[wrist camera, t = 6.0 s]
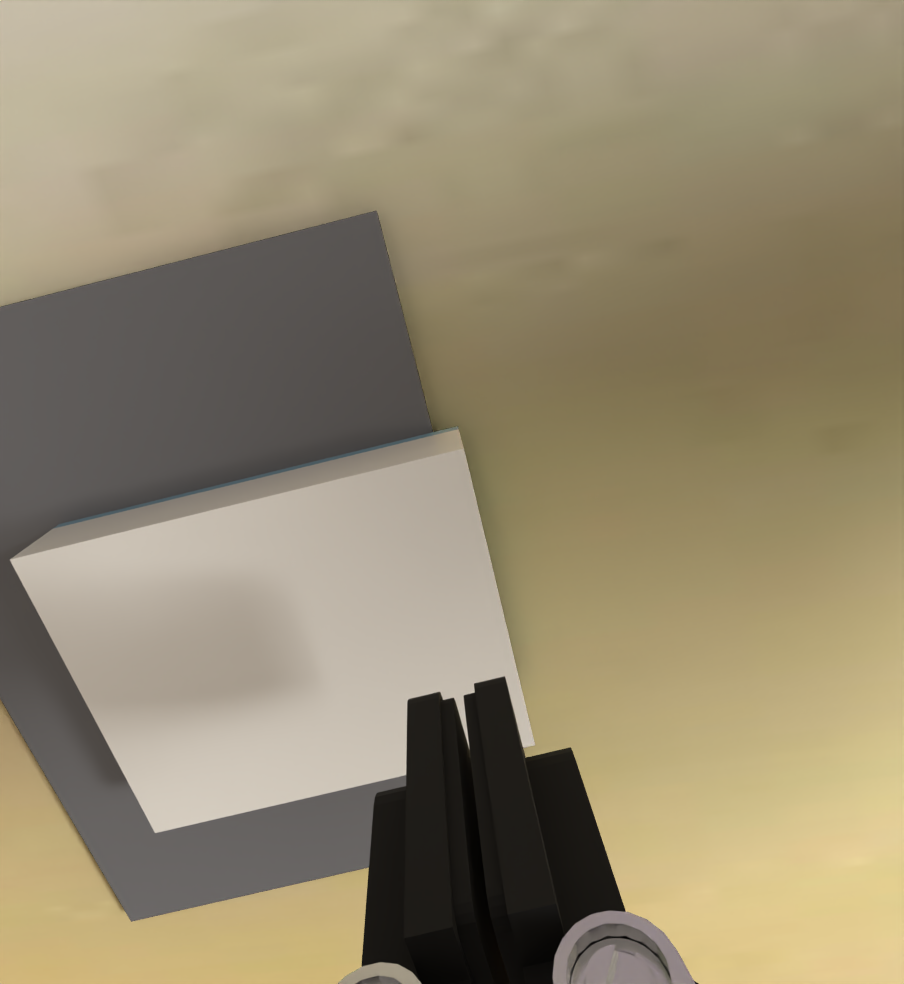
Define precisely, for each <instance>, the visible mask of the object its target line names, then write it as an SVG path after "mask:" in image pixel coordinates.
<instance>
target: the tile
mask: <svg viewBox="0 0 904 984" xmlns="http://www.w3.org/2000/svg"><path fill="white" fill-rule="evenodd" d="M10 561H11V563H12V565H13V567H14V569H15V571H16V573H17V574H18V576H19V578H20V580H21V582H22V584H23V586H24V588H25V590H26V591H27V593H28V595H29V597H30V599H31V601H32V603H33V605H34V606H35V608H36V610H37V612H38V614H39V616H40V618H41V620H42V621H43V623H44V625H45V627H46V629H47V631H48V633H49V635H50V637H51V638H52V640H53V642H54V644H55V646H56V648H57V650H58V652H59V653H60V655H61V657H62V659H63V661H64V663H65V665H66V667H67V668H68V670H69V672H70V674H71V676H72V678H73V680H74V682H75V683H76V685H77V687H78V689H79V691H80V693H81V695H82V697H83V699H84V700H85V702H86V704H87V706H88V708H89V710H90V712H91V714H92V715H93V717H94V719H95V721H96V723H97V725H98V727H99V729H100V730H101V732H102V734H103V736H104V738H105V740H106V742H107V744H108V746H109V747H110V749H111V751H112V753H113V755H114V757H115V759H116V761H117V762H118V764H119V766H120V768H121V770H122V772H123V774H124V776H125V777H126V779H127V781H128V783H129V785H130V787H131V789H132V791H133V792H134V794H135V796H136V798H137V800H138V802H139V804H140V806H141V808H142V809H143V811H144V813H145V815H146V817H147V819H148V821H149V823H150V824H151V826H152V828H153V830H154V832H155V833H158V832H162V831H167V830H171V829H175V828H180V827H184V826H188V825H193V824H197V823H201V822H206V821H210V820H214V819H219V818H223V817H227V816H232V815H236V814H240V813H244V812H249V811H253V810H257V809H262V808H266V807H270V806H275V805H279V804H283V803H288V802H292V801H296V800H301V799H305V798H309V797H314V796H318V795H322V794H327V793H331V792H335V791H340V790H344V789H348V788H352V787H357V786H361V785H365V784H370V783H374V782H378V781H383V780H387V779H391V778H396V777H400V776H404V775H406V755H407V701H408V699H411V698H415V697H419V696H423V695H428V694H432V693H436V692H440V693H441V695H442V698H443V700H445V699H450V698H454V699H455V702H456V705H457V708H458V712H459V715H460V719H461V722H462V726H463V729H464V733H465V736H466V740H467V743H468V746H469V740H468V732H467V723H466V715H465V706H464V697H463V696H464V695H467V694H471V693H475V690H474V683H478V682H482V681H487V680H491V679H495V678H499V677H503V676H505V678H506V682H507V686H508V690H509V694H510V698H511V702H512V706H513V710H514V714H515V718H516V722H517V726H518V730H519V734H520V738H521V742H522V746H523V748H525V747H530V746H534V745H535V742H534V738H533V734H532V730H531V726H530V722H529V717H528V713H527V709H526V705H525V701H524V697H523V692H522V688H521V684H520V680H519V676H518V672H517V667H516V663H515V659H514V655H513V651H512V647H511V642H510V638H509V634H508V630H507V626H506V622H505V617H504V613H503V609H502V605H501V601H500V597H499V592H498V588H497V584H496V580H495V576H494V571H493V567H492V563H491V559H490V555H489V551H488V546H487V542H486V538H485V534H484V530H483V526H482V521H481V517H480V513H479V509H478V505H477V501H476V496H475V492H474V488H473V484H472V480H471V476H470V471H469V467H468V463H467V459H466V455H465V451H464V447H463V443H462V439H461V436H460V432H459V428H458V426H456V427H452V428H448V429H444V430H440V431H436V432H432V433H428V434H424V435H420V436H416V437H412V438H407V439H403V440H399V441H395V442H391V443H387V444H383V445H379V446H375V447H371V448H367V449H363V450H359V451H355V452H351V453H346V454H342V455H338V456H334V457H330V458H326V459H322V460H318V461H314V462H310V463H306V464H302V465H298V466H294V467H290V468H285V469H281V470H277V471H273V472H269V473H265V474H261V475H257V476H253V477H249V478H245V479H241V480H237V481H233V482H228V483H224V484H220V485H216V486H212V487H208V488H204V489H200V490H196V491H192V492H188V493H184V494H180V495H176V496H172V497H167V498H163V499H159V500H155V501H151V502H147V503H143V504H139V505H135V506H131V507H127V508H123V509H119V510H115V511H111V512H106V513H102V514H98V515H94V516H90V517H86V518H82V519H78V520H74V521H70V522H66V523H62V524H59V525H57V526H56V527H54V528H53V529H52V530H50V531H49V532H48V533H46V534H45V535H43V536H42V537H41V538H39V539H38V540H36V541H35V542H34V543H32V544H31V545H29V546H28V547H27V548H25V549H24V550H22V551H21V552H20V553H18V554H17V555H15V556H14V557H13V558H11V559H10ZM469 750H470V749H469Z"/></svg>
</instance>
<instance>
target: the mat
mask: <svg viewBox="0 0 904 984" xmlns="http://www.w3.org/2000/svg"><path fill="white" fill-rule="evenodd" d="M432 432H433V429H432V425H431V422H430V418H429V414H428V410H427V406H426V402H425V398H424V394H423V390H422V386H421V382H420V378H419V375H418V371H417V367H416V363H415V359H414V355H413V351H412V347H411V343H410V339H409V335H408V331H407V327H406V324H405V320H404V316H403V312H402V308H401V304H400V300H399V296H398V292H397V288H396V284H395V280H394V277H393V273H392V269H391V265H390V261H389V257H388V253H387V249H386V245H385V241H384V237H383V233H382V229H381V226H380V222H379V218H378V214H377V211H373V212H369V213H365V214H362V215H358V216H354V217H350V218H346V219H342V220H338V221H334V222H330V223H326V224H322V225H319V226H315V227H311V228H307V229H303V230H299V231H295V232H291V233H287V234H283V235H279V236H276V237H272V238H268V239H264V240H260V241H256V242H252V243H248V244H244V245H240V246H236V247H233V248H229V249H225V250H221V251H217V252H213V253H209V254H205V255H201V256H197V257H193V258H190V259H186V260H182V261H178V262H174V263H170V264H166V265H162V266H158V267H154V268H151V269H147V270H143V271H139V272H135V273H131V274H127V275H123V276H119V277H115V278H111V279H108V280H104V281H100V282H96V283H92V284H88V285H84V286H80V287H76V288H72V289H68V290H65V291H61V292H57V293H53V294H49V295H45V296H41V297H37V298H33V299H29V300H25V301H22V302H18V303H14V304H10V305H6V306H2V307H0V699H1V701H2V702H3V704H4V706H5V708H6V709H7V711H8V713H9V714H10V716H11V718H12V719H13V721H14V723H15V725H16V726H17V728H18V730H19V731H20V733H21V735H22V736H23V738H24V740H25V742H26V743H27V745H28V747H29V748H30V750H31V752H32V753H33V755H34V757H35V759H36V760H37V762H38V764H39V765H40V767H41V769H42V771H43V772H44V774H45V776H46V777H47V779H48V781H49V782H50V784H51V786H52V788H53V789H54V791H55V793H56V794H57V796H58V798H59V799H60V801H61V803H62V805H63V806H64V808H65V810H66V811H67V813H68V815H69V816H70V818H71V820H72V822H73V823H74V825H75V827H76V828H77V830H78V832H79V833H80V835H81V837H82V839H83V840H84V842H85V844H86V845H87V847H88V849H89V851H90V852H91V854H92V856H93V857H94V859H95V861H96V862H97V864H98V866H99V868H100V869H101V871H102V873H103V874H104V876H105V878H106V879H107V881H108V883H109V885H110V886H111V888H112V890H113V891H114V893H115V895H116V896H117V898H118V900H119V902H120V903H121V905H122V907H123V908H124V910H125V912H126V913H127V915H128V917H129V919H130V920H131V921H136V920H140V919H145V918H149V917H153V916H158V915H162V914H166V913H171V912H175V911H180V910H184V909H188V908H193V907H197V906H202V905H206V904H210V903H215V902H219V901H223V900H228V899H232V898H237V897H241V896H245V895H250V894H254V893H259V892H263V891H267V890H272V889H276V888H280V887H285V886H289V885H294V884H298V883H302V882H307V881H311V880H316V879H320V878H324V877H329V876H333V875H337V874H342V873H346V872H351V871H355V870H359V869H364V868H368V867H369V861H370V847H371V834H372V820H373V806H374V799H375V796H376V794H377V793H378V792H382V791H386V790H391V789H395V788H399V787H404V786H406V775H404V776H400V777H396V778H391V779H387V780H383V781H378V782H374V783H370V784H365V785H361V786H357V787H352V788H348V789H344V790H340V791H335V792H331V793H327V794H322V795H318V796H314V797H309V798H305V799H301V800H296V801H292V802H288V803H283V804H279V805H275V806H270V807H266V808H262V809H257V810H253V811H249V812H244V813H240V814H236V815H232V816H227V817H223V818H219V819H214V820H210V821H206V822H201V823H197V824H193V825H188V826H184V827H180V828H175V829H171V830H167V831H162V832H158V833H155V832H154V830H153V828H152V826H151V824H150V823H149V821H148V819H147V817H146V815H145V813H144V811H143V809H142V808H141V806H140V804H139V802H138V800H137V798H136V796H135V794H134V792H133V791H132V789H131V787H130V785H129V783H128V781H127V779H126V777H125V776H124V774H123V772H122V770H121V768H120V766H119V764H118V762H117V761H116V759H115V757H114V755H113V753H112V751H111V749H110V747H109V746H108V744H107V742H106V740H105V738H104V736H103V734H102V732H101V730H100V729H99V727H98V725H97V723H96V721H95V719H94V717H93V715H92V714H91V712H90V710H89V708H88V706H87V704H86V702H85V700H84V699H83V697H82V695H81V693H80V691H79V689H78V687H77V685H76V683H75V682H74V680H73V678H72V676H71V674H70V672H69V670H68V668H67V667H66V665H65V663H64V661H63V659H62V657H61V655H60V653H59V652H58V650H57V648H56V646H55V644H54V642H53V640H52V638H51V637H50V635H49V633H48V631H47V629H46V627H45V625H44V623H43V621H42V620H41V618H40V616H39V614H38V612H37V610H36V608H35V606H34V605H33V603H32V601H31V599H30V597H29V595H28V593H27V591H26V590H25V588H24V586H23V584H22V582H21V580H20V578H19V576H18V574H17V573H16V571H15V569H14V567H13V565H12V563H11V561H10V559H11V558H13V557H14V556H15V555H17V554H18V553H20V552H21V551H22V550H24V549H25V548H27V547H28V546H29V545H31V544H32V543H34V542H35V541H36V540H38V539H39V538H41V537H42V536H43V535H45V534H46V533H48V532H49V531H50V530H52V529H53V528H54V527H56V526H57V525H59V524H62V523H66V522H70V521H74V520H78V519H82V518H86V517H90V516H94V515H98V514H102V513H106V512H111V511H115V510H119V509H123V508H127V507H131V506H135V505H139V504H143V503H147V502H151V501H155V500H159V499H163V498H167V497H172V496H176V495H180V494H184V493H188V492H192V491H196V490H200V489H204V488H208V487H212V486H216V485H220V484H224V483H228V482H233V481H237V480H241V479H245V478H249V477H253V476H257V475H261V474H265V473H269V472H273V471H277V470H281V469H285V468H290V467H294V466H298V465H302V464H306V463H310V462H314V461H318V460H322V459H326V458H330V457H334V456H338V455H342V454H346V453H351V452H355V451H359V450H363V449H367V448H371V447H375V446H379V445H383V444H387V443H391V442H395V441H399V440H403V439H407V438H412V437H416V436H420V435H424V434H428V433H432Z"/></svg>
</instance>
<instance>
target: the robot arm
mask: <svg viewBox="0 0 904 984" xmlns="http://www.w3.org/2000/svg"><path fill="white" fill-rule="evenodd" d="M474 690H475V693H471V694H467V695H464V696H463V697H464V706H465V715H466V723H467V732H468V740H469V746H468V743H467V740H466V736H465V733H464V729H463V726H462V722H461V719H460V715H459V712H458V708H457V705H456V702H455V699H454V698H450V699H445V700H443V698H442V695H441V693H440V692H436V693H432V694H428V695H423V696H419V697H415V698H411V699H408V701H407V755H406V786H404V787H399V788H395V789H391V790H386V791H382V792H378V793H377V794H376V796H375V799H374V806H373V820H372V834H371V847H370V861H369V874H368V888H367V901H366V915H365V928H364V942H363V955H362V967H361V968H359V969H357V970H356V971H354V972H352V973H350V974H349V975H347V976H345V977H344V978H343V979H342V980H341V981H340V982H339V983H338V984H698V983H696V982H695V981H694V980H693V978H692V977H691V975H690V973H689V971H688V969H687V968H686V966H685V964H684V962H683V960H682V958H681V957H680V955H679V953H678V951H677V950H676V948H675V947H674V946H673V944H672V943H671V942H670V940H669V939H668V938H667V936H666V935H665V934H664V932H662V931H661V930H660V929H659V928H657V927H656V926H655V925H653V924H652V923H651V922H649V921H648V920H647V919H644V918H642V917H639V916H637V915H634V914H632V913H629V912H626V911H625V908H624V905H623V902H622V899H621V896H620V893H619V890H618V887H617V884H616V881H615V878H614V875H613V872H612V869H611V866H610V863H609V860H608V857H607V854H606V851H605V848H604V845H603V842H602V839H601V836H600V833H599V829H598V826H597V823H596V820H595V817H594V814H593V811H592V808H591V805H590V802H589V799H588V796H587V793H586V790H585V787H584V784H583V781H582V778H581V775H580V772H579V769H578V766H577V763H576V760H575V757H574V754H573V751H572V749H571V747H570V748H566V749H562V750H557V751H553V752H549V753H545V754H540V755H536V756H532V757H528V758H525V754H524V750H523V746H522V742H521V738H520V734H519V730H518V726H517V722H516V718H515V714H514V710H513V706H512V702H511V698H510V694H509V690H508V686H507V682H506V678H505V676H503V677H499V678H495V679H491V680H487V681H482V682H478V683H474ZM469 749H470V750H469Z"/></svg>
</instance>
